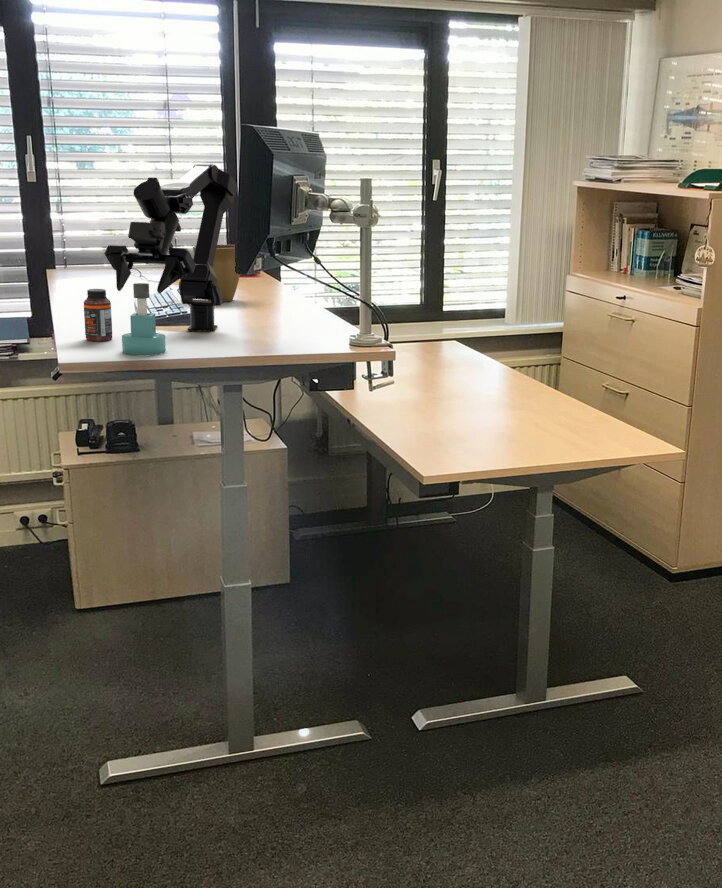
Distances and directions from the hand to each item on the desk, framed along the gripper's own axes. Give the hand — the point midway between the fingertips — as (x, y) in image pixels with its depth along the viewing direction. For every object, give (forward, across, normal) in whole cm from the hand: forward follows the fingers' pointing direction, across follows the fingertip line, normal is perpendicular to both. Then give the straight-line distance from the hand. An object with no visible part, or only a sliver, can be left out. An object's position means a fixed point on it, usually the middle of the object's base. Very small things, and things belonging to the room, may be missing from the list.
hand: (138, 290), depth 192 cm
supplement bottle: (+2, -16, +17) cm, 23 cm away
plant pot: (-48, -16, +67) cm, 84 cm away
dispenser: (+8, 0, +10) cm, 13 cm away
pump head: (+4, 0, +6) cm, 7 cm away
